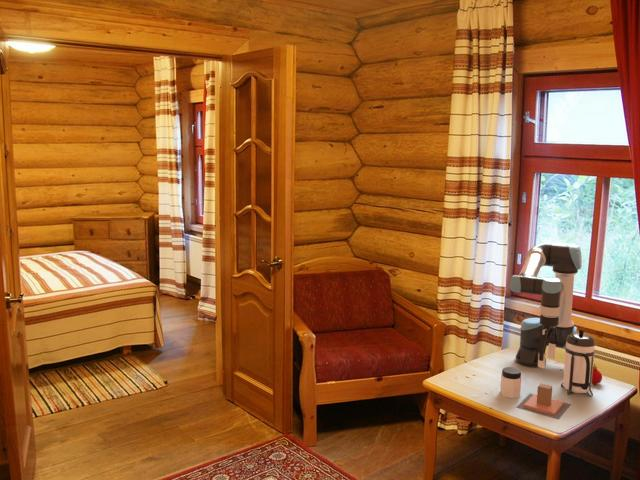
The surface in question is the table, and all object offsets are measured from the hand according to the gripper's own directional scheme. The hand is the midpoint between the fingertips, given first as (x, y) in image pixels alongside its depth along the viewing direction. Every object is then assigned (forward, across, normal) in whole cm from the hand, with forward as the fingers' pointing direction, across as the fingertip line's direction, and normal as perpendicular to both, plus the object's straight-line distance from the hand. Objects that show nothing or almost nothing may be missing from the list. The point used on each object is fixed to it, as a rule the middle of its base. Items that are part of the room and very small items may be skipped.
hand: (546, 362), depth 257 cm
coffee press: (+21, -25, +8) cm, 34 cm away
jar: (+21, -3, -16) cm, 26 cm away
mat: (+21, 0, 0) cm, 21 cm away
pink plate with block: (+20, 0, 0) cm, 20 cm away
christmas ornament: (+21, -40, +11) cm, 46 cm away
